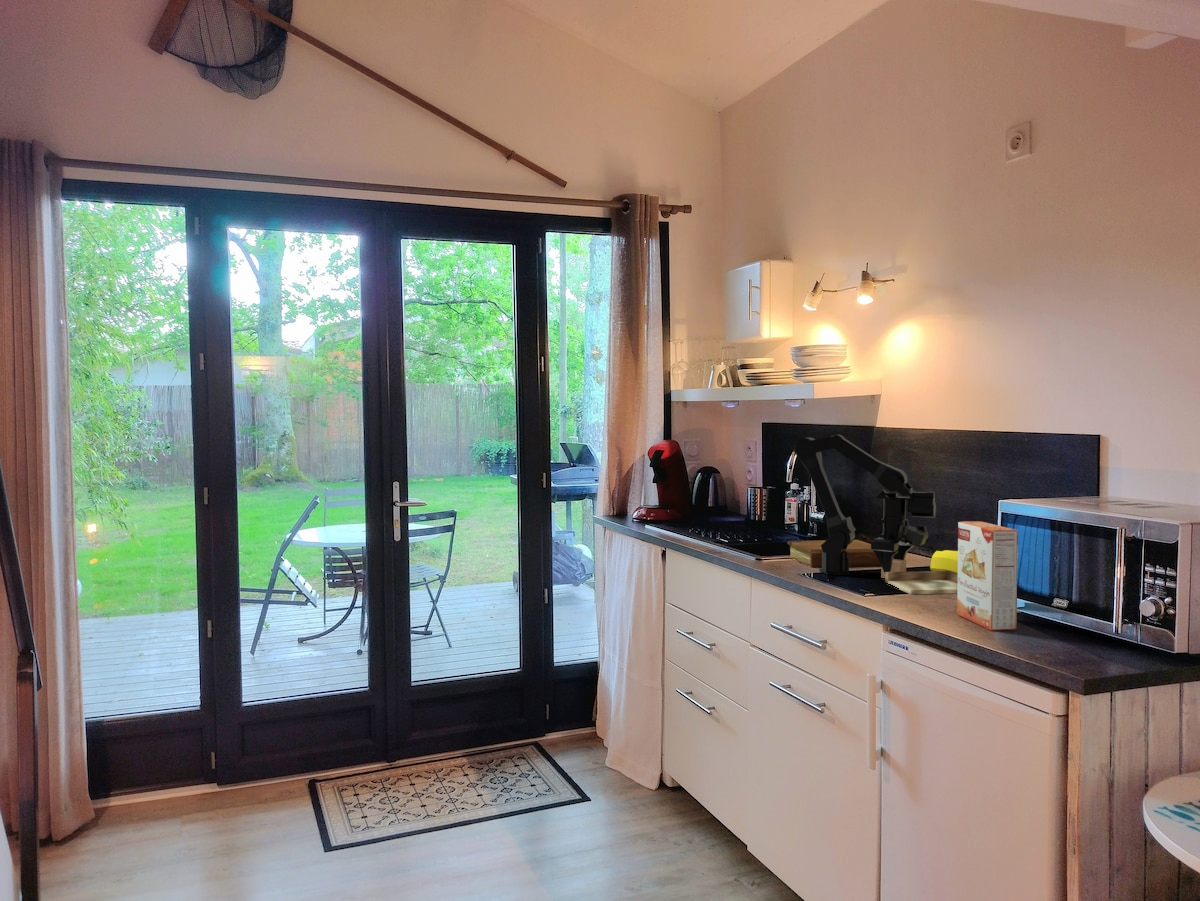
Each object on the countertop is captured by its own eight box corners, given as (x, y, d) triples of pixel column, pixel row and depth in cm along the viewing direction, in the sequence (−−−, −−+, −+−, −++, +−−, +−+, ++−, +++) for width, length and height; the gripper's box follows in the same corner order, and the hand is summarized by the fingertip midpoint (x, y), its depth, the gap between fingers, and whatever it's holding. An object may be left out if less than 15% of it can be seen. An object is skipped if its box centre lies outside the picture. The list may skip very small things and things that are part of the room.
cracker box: (954, 615, 187) (956, 520, 186) (981, 615, 187) (983, 520, 186) (989, 631, 173) (991, 529, 172) (1017, 630, 173) (1019, 528, 172)
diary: (811, 570, 246) (811, 550, 246) (787, 559, 265) (787, 541, 264) (885, 567, 250) (885, 547, 249) (856, 557, 268) (856, 539, 268)
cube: (899, 581, 226) (900, 562, 226) (881, 579, 229) (881, 560, 229) (905, 578, 230) (906, 560, 230) (887, 576, 233) (887, 558, 233)
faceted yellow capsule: (942, 569, 245) (922, 571, 242) (943, 546, 245) (922, 548, 242) (993, 580, 228) (972, 582, 225) (994, 556, 228) (973, 557, 225)
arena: (910, 594, 209) (911, 582, 209) (885, 583, 223) (885, 572, 223) (979, 592, 211) (979, 580, 211) (949, 582, 225) (949, 570, 225)
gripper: (913, 521, 217) (912, 581, 218) (935, 514, 232) (934, 571, 232) (870, 517, 224) (869, 576, 224) (894, 512, 239) (893, 567, 239)
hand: (893, 573), depth 230 cm, fingers open, 9 cm apart
